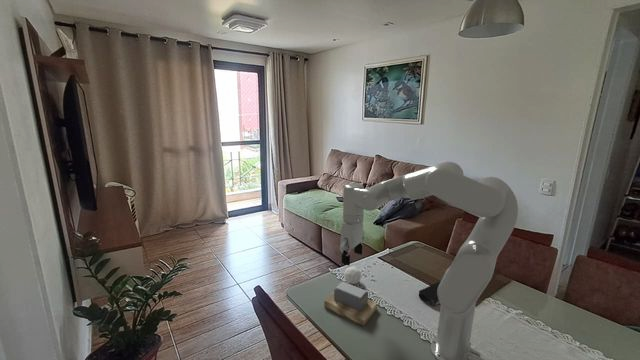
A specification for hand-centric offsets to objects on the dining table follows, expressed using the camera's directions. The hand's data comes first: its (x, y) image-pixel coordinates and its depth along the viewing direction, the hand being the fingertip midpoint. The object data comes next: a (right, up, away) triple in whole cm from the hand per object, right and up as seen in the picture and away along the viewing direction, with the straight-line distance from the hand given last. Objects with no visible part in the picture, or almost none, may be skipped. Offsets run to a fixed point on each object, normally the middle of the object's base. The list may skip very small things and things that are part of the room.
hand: (352, 258), depth 111 cm
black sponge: (+38, -20, +13) cm, 45 cm away
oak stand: (0, -21, +5) cm, 22 cm away
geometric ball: (+3, -17, +23) cm, 29 cm away
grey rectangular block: (0, -19, +5) cm, 19 cm away
